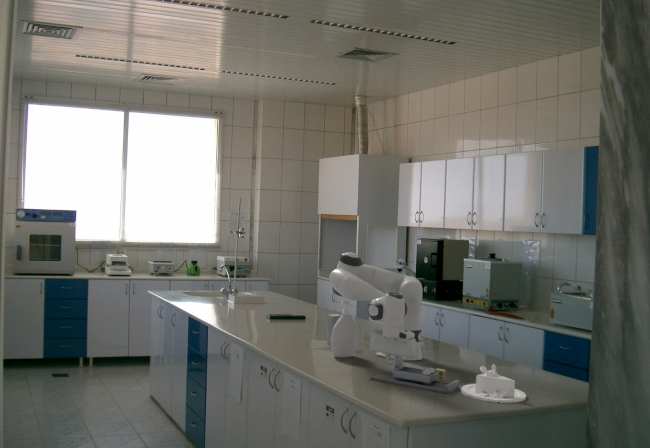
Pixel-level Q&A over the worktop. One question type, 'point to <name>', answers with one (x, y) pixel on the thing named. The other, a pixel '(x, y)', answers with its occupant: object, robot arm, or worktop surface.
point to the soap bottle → (344, 335)
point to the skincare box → (331, 325)
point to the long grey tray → (411, 372)
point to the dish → (493, 388)
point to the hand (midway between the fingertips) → (391, 364)
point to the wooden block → (441, 374)
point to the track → (418, 383)
